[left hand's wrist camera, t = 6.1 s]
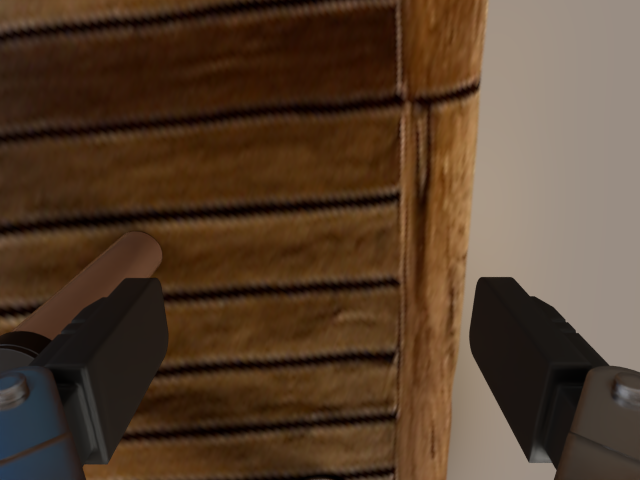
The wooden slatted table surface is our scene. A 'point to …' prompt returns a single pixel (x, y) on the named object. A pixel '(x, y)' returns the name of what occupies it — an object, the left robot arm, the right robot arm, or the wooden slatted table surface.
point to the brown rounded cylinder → (96, 282)
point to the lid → (20, 348)
